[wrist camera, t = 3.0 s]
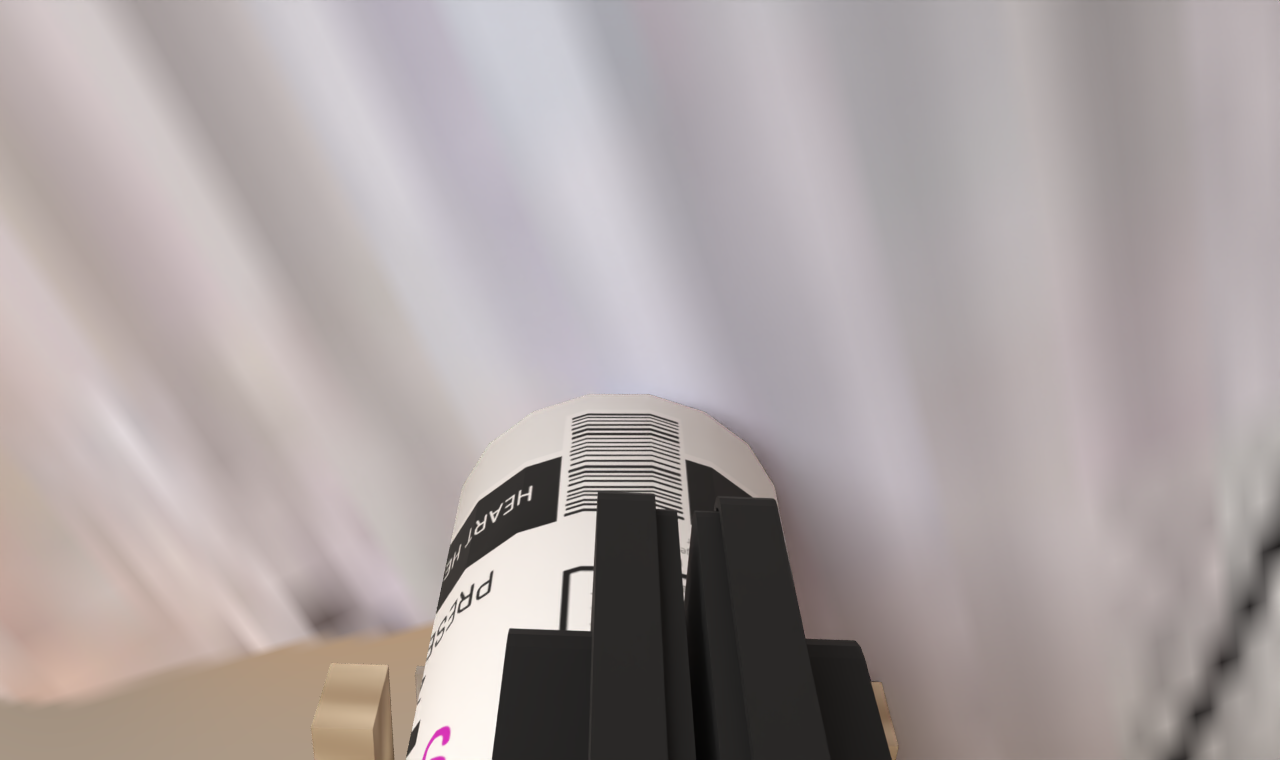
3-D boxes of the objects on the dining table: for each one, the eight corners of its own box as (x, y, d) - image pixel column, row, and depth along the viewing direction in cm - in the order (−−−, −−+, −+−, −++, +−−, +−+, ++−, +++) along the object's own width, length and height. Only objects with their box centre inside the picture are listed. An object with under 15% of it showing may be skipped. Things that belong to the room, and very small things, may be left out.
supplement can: (812, 586, 31) (948, 1200, 18) (530, 665, 33) (469, 1291, 20) (723, 336, 28) (815, 885, 15) (407, 436, 29) (231, 1024, 16)
